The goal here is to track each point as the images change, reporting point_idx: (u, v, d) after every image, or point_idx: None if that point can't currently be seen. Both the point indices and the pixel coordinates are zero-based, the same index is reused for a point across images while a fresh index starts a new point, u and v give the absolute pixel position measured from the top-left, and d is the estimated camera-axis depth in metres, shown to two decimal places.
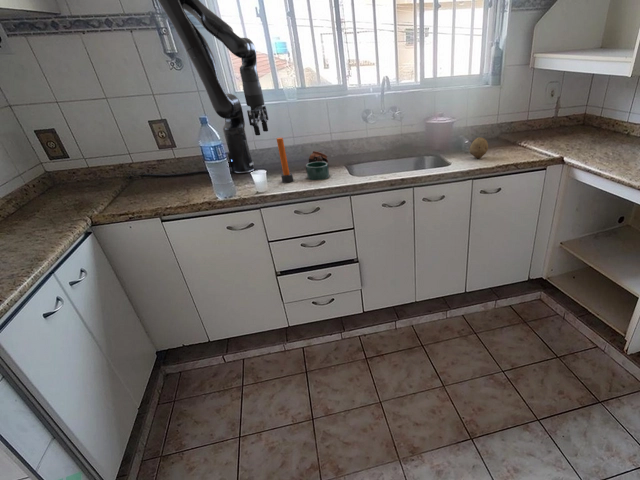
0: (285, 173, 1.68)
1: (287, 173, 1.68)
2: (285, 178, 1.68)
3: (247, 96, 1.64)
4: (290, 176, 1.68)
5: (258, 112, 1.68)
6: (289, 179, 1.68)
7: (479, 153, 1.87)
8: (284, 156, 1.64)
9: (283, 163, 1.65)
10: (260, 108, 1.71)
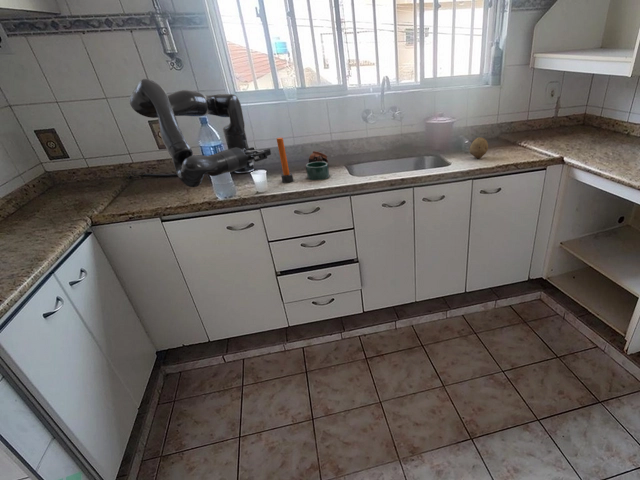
0: (285, 173, 1.68)
1: (287, 173, 1.68)
2: (285, 178, 1.68)
3: (239, 164, 1.42)
4: (290, 176, 1.68)
5: (248, 152, 1.46)
6: (289, 179, 1.68)
7: (479, 153, 1.87)
8: (284, 156, 1.64)
9: (283, 163, 1.65)
10: None
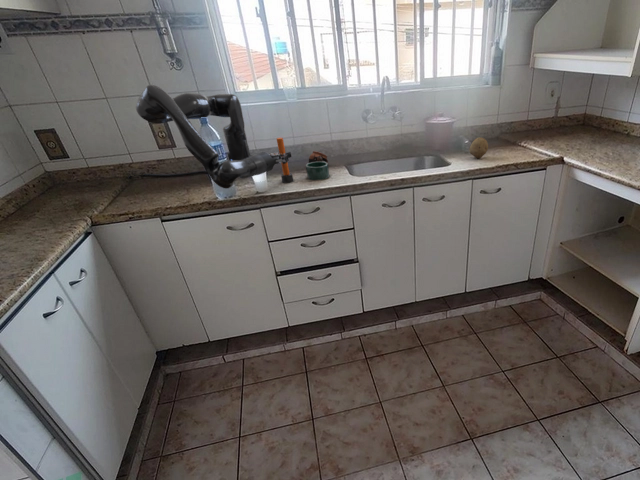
0: (285, 173, 1.68)
1: (287, 173, 1.68)
2: (285, 178, 1.68)
3: (267, 167, 1.54)
4: (290, 176, 1.68)
5: (274, 156, 1.58)
6: (289, 179, 1.68)
7: (479, 153, 1.87)
8: None
9: None
10: None
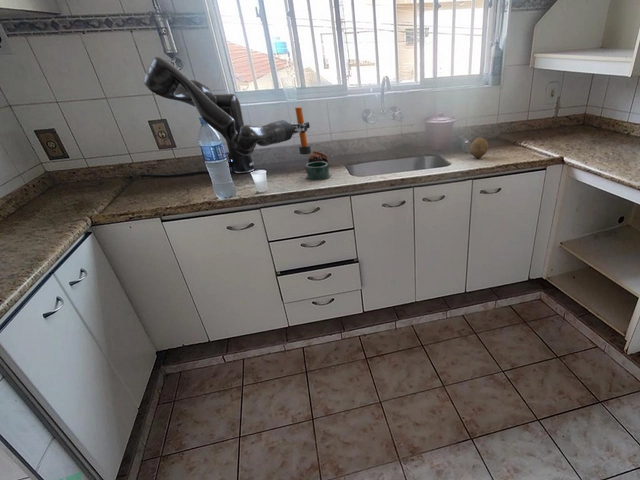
0: (303, 144, 1.64)
1: (305, 144, 1.64)
2: (303, 149, 1.64)
3: (286, 135, 1.51)
4: (308, 147, 1.65)
5: (293, 125, 1.54)
6: (306, 151, 1.65)
7: (479, 153, 1.87)
8: None
9: (301, 134, 1.62)
10: None
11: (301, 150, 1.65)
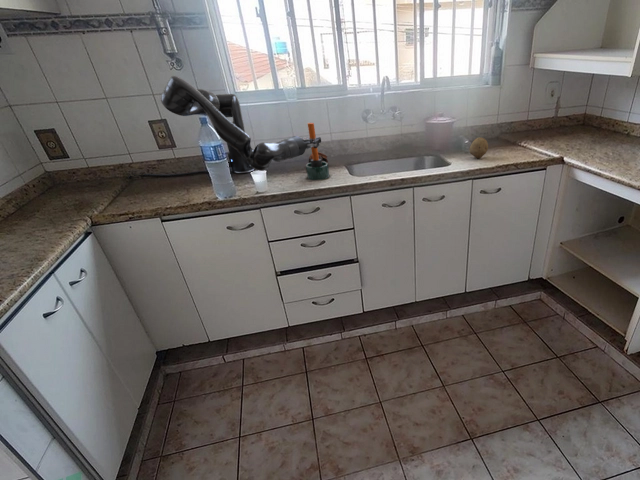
0: (315, 158, 1.69)
1: (317, 158, 1.69)
2: (315, 163, 1.69)
3: (299, 151, 1.56)
4: (319, 161, 1.70)
5: (306, 140, 1.59)
6: (318, 165, 1.70)
7: (479, 153, 1.87)
8: None
9: (313, 148, 1.67)
10: None
11: (313, 164, 1.70)
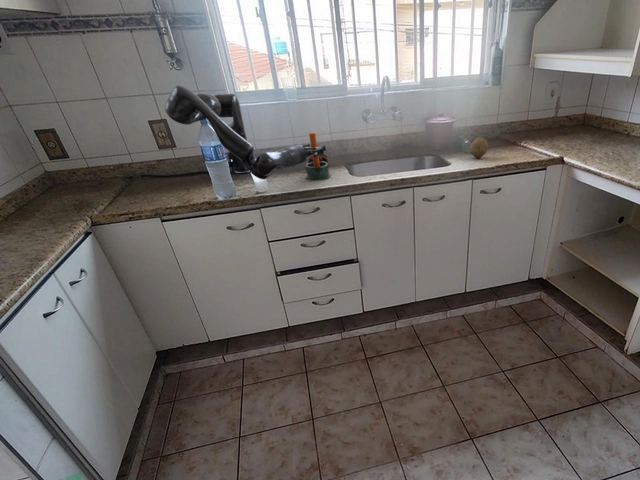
0: None
1: None
2: None
3: (301, 159, 1.57)
4: None
5: (307, 148, 1.61)
6: None
7: (479, 153, 1.87)
8: None
9: (314, 157, 1.69)
10: None
11: None
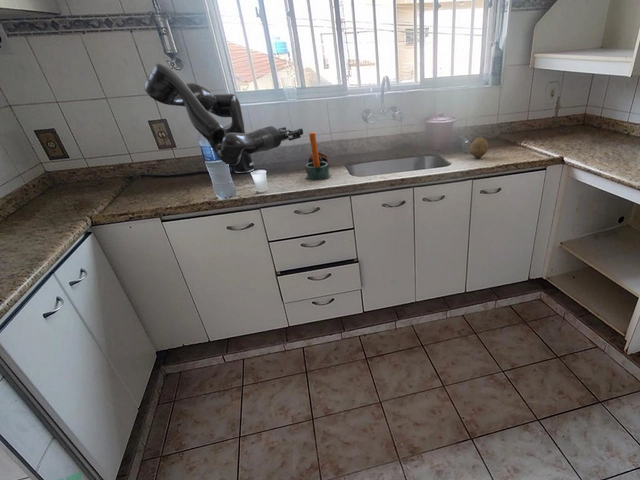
0: None
1: None
2: None
3: (274, 142, 1.43)
4: None
5: (282, 131, 1.47)
6: None
7: (479, 153, 1.87)
8: (316, 150, 1.68)
9: (314, 157, 1.69)
10: None
11: None
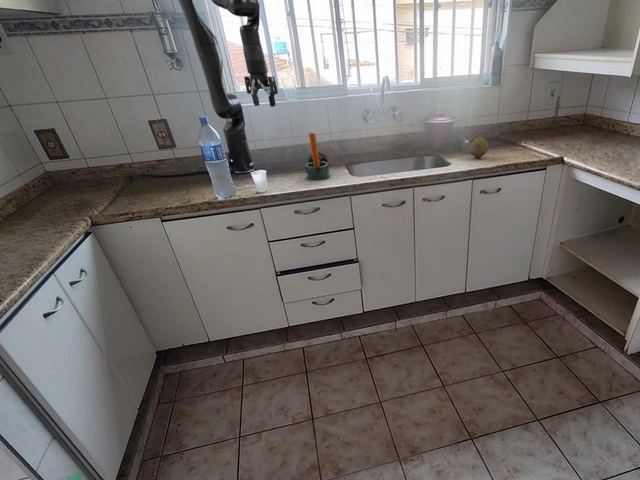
0: None
1: None
2: None
3: (260, 61, 1.44)
4: None
5: None
6: None
7: (479, 153, 1.87)
8: (316, 150, 1.68)
9: (314, 157, 1.69)
10: None
11: None
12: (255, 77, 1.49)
